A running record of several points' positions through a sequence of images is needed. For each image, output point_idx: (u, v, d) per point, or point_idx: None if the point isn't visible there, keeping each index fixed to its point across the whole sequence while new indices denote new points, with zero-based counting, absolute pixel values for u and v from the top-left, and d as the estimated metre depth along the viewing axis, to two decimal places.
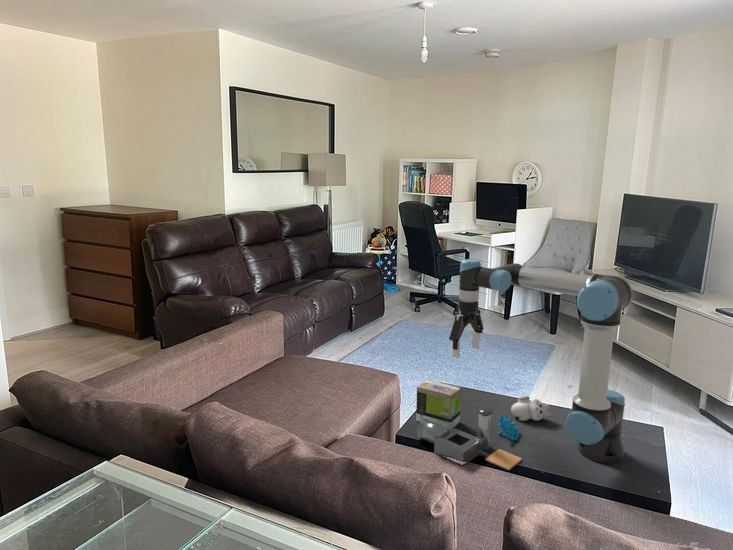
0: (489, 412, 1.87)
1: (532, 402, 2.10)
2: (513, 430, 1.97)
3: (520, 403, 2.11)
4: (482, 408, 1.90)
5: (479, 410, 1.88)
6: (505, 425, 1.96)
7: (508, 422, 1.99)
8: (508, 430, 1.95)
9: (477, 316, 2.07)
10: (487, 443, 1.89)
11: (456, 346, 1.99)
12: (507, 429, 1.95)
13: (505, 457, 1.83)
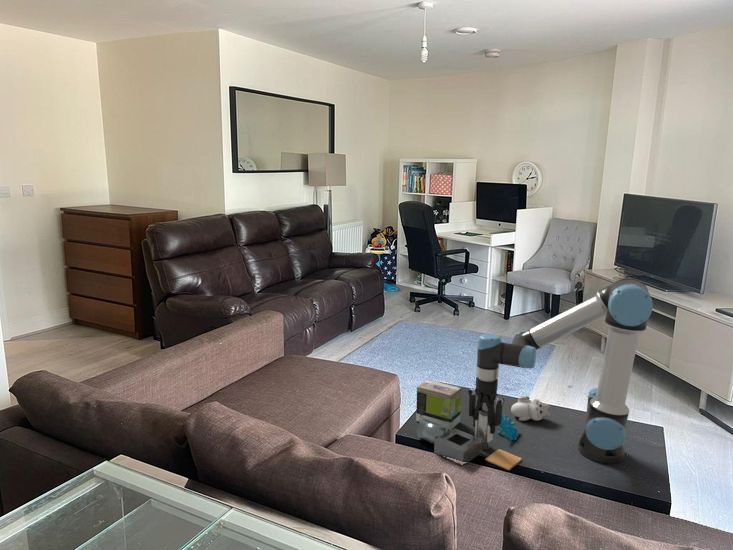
0: None
1: (532, 402, 2.10)
2: (512, 430, 1.97)
3: (520, 403, 2.11)
4: (482, 408, 1.90)
5: (479, 410, 1.88)
6: (504, 425, 1.96)
7: (507, 422, 1.99)
8: (507, 430, 1.95)
9: None
10: (487, 443, 1.89)
11: (474, 423, 1.92)
12: (506, 429, 1.96)
13: (505, 457, 1.83)
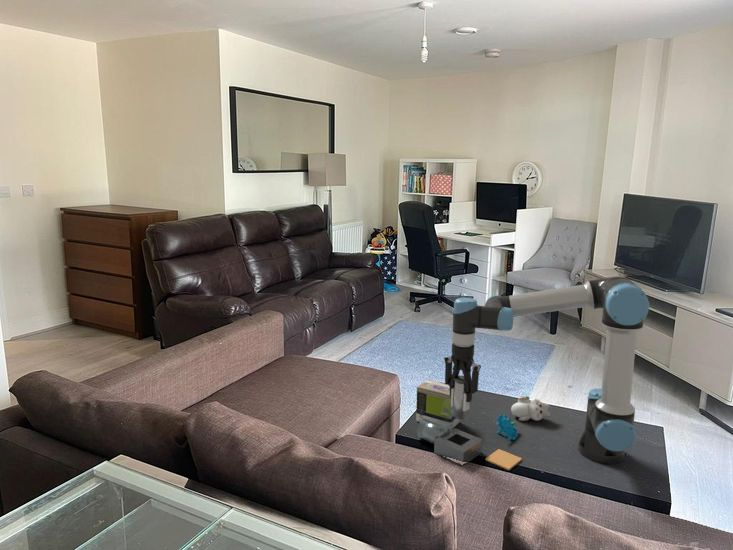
0: None
1: (532, 402, 2.10)
2: (512, 430, 1.98)
3: (520, 403, 2.11)
4: (458, 376, 1.83)
5: (455, 378, 1.81)
6: (503, 424, 1.97)
7: (507, 421, 1.99)
8: (506, 430, 1.96)
9: None
10: (463, 412, 1.82)
11: (450, 392, 1.84)
12: (505, 428, 1.96)
13: (505, 457, 1.83)
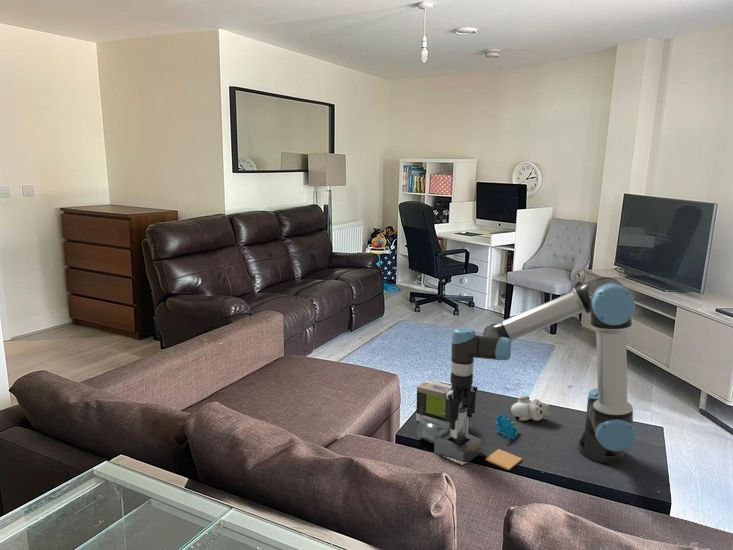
0: (465, 406, 1.84)
1: (532, 402, 2.10)
2: (511, 429, 1.98)
3: (520, 403, 2.11)
4: None
5: (460, 409, 1.81)
6: (503, 424, 1.97)
7: (507, 421, 1.99)
8: (505, 429, 1.96)
9: (472, 394, 1.85)
10: None
11: (453, 426, 1.82)
12: (504, 428, 1.96)
13: (505, 457, 1.83)
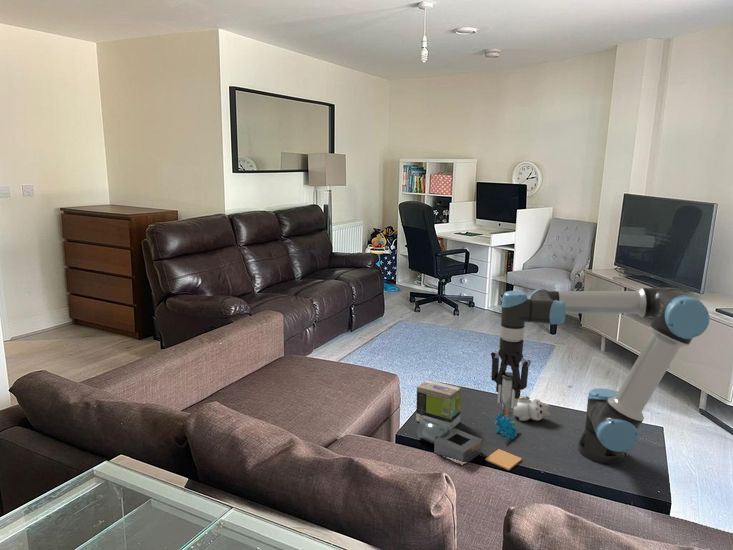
0: None
1: (532, 402, 2.10)
2: (510, 429, 1.98)
3: (520, 403, 2.11)
4: (506, 373, 1.78)
5: (503, 375, 1.76)
6: (502, 423, 1.97)
7: (506, 421, 2.00)
8: (504, 429, 1.96)
9: None
10: (511, 410, 1.76)
11: (497, 389, 1.79)
12: (503, 427, 1.96)
13: (505, 457, 1.83)
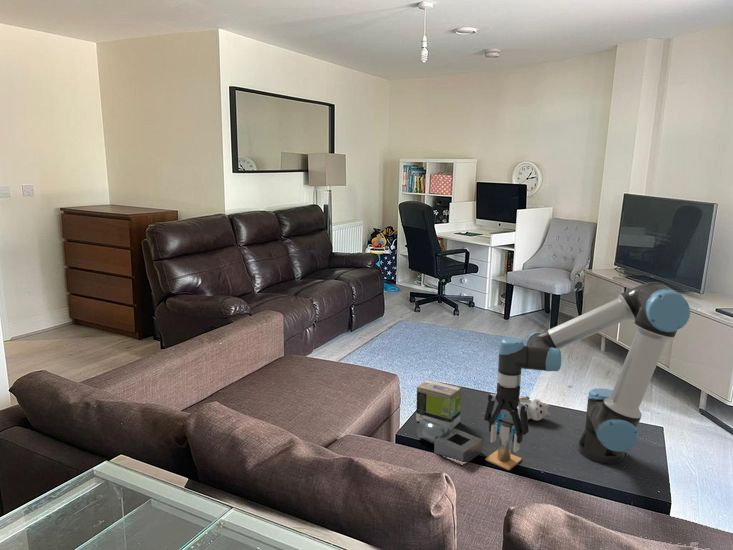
0: (511, 423, 1.78)
1: (532, 402, 2.10)
2: None
3: None
4: (504, 418, 1.81)
5: (501, 421, 1.79)
6: None
7: None
8: None
9: None
10: (508, 455, 1.80)
11: (490, 428, 1.83)
12: None
13: None
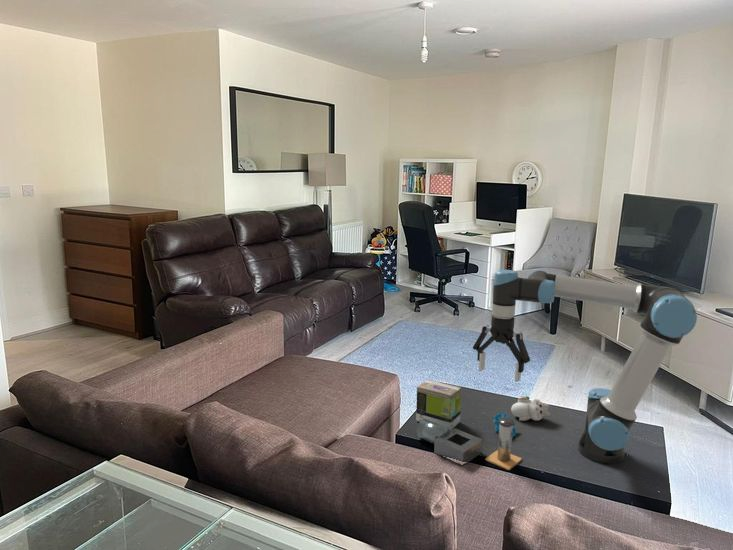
0: (511, 423, 1.78)
1: (532, 402, 2.10)
2: None
3: (520, 403, 2.11)
4: (503, 418, 1.81)
5: (500, 421, 1.79)
6: None
7: None
8: None
9: None
10: (508, 455, 1.80)
11: (478, 357, 1.86)
12: None
13: None
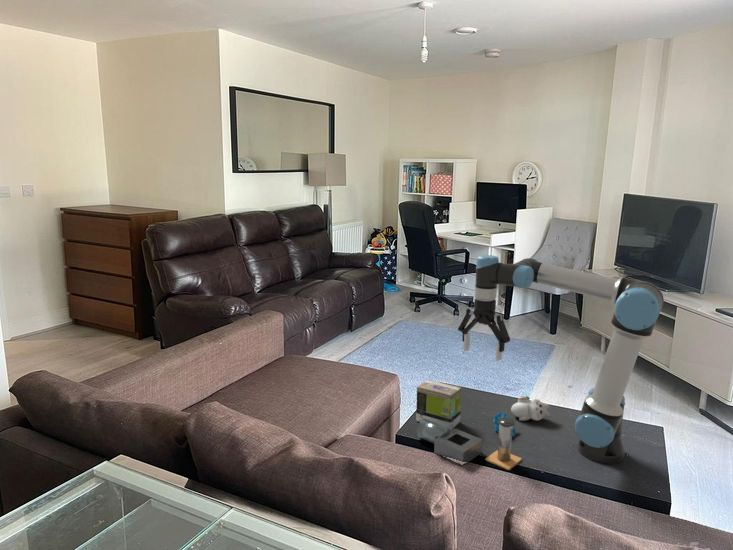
0: (510, 423, 1.78)
1: (532, 402, 2.10)
2: None
3: (520, 403, 2.11)
4: (503, 418, 1.81)
5: (500, 421, 1.79)
6: None
7: None
8: None
9: None
10: (508, 455, 1.80)
11: (463, 338, 1.97)
12: None
13: None
